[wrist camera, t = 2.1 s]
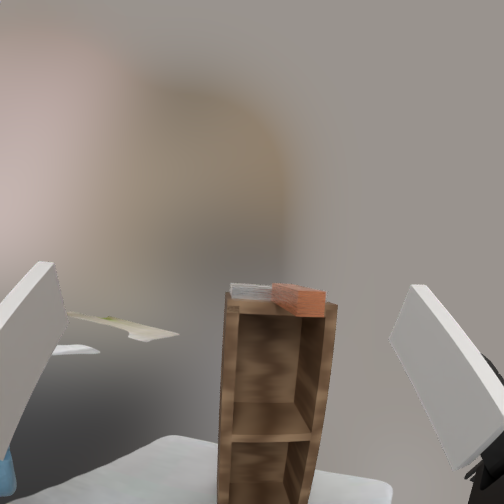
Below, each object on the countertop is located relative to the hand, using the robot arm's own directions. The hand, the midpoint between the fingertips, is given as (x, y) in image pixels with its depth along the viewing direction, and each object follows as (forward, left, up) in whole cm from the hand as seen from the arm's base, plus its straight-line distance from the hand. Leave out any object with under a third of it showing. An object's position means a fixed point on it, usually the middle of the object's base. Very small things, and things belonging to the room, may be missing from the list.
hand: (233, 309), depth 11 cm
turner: (+6, +19, -2) cm, 20 cm away
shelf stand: (+6, +24, -32) cm, 40 cm away
